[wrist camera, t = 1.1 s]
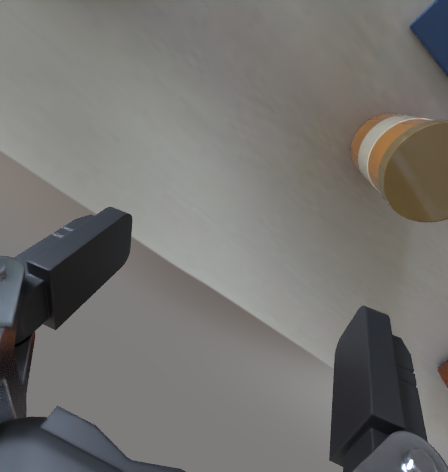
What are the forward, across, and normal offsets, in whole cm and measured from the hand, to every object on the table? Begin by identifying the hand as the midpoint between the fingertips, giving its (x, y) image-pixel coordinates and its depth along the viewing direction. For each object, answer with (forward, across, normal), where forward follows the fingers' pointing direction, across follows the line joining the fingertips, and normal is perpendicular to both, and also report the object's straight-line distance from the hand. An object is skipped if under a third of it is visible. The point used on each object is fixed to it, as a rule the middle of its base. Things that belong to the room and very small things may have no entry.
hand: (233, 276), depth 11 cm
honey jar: (+23, -7, -1) cm, 24 cm away
